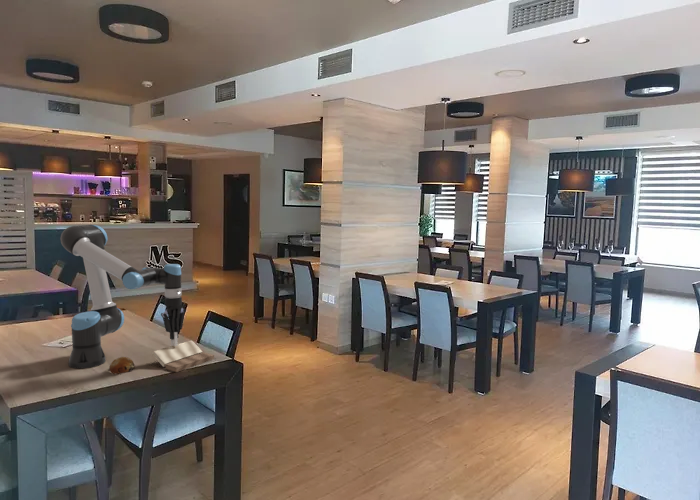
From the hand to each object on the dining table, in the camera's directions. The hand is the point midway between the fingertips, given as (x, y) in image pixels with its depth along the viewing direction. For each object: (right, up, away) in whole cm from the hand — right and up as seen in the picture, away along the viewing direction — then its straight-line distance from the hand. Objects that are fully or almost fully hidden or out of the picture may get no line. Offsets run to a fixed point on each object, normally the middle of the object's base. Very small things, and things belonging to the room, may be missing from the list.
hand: (174, 345), depth 232 cm
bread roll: (-18, -9, -14) cm, 25 cm away
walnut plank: (+9, -8, -5) cm, 13 cm away
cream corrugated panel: (+2, -4, -1) cm, 5 cm away
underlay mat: (+4, -8, -2) cm, 9 cm away
